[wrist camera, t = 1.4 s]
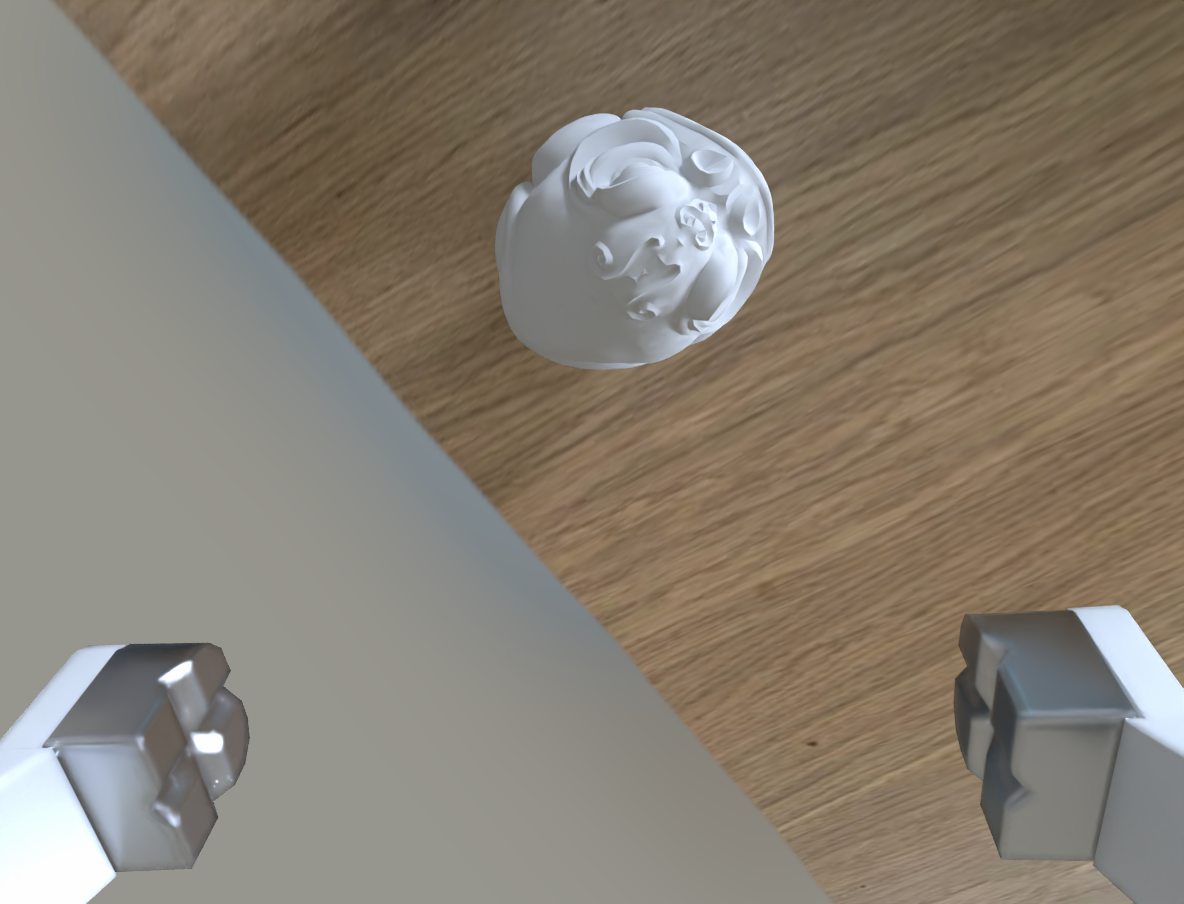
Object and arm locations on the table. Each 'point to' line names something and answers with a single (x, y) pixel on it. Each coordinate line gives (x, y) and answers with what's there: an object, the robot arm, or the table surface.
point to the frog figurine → (631, 240)
